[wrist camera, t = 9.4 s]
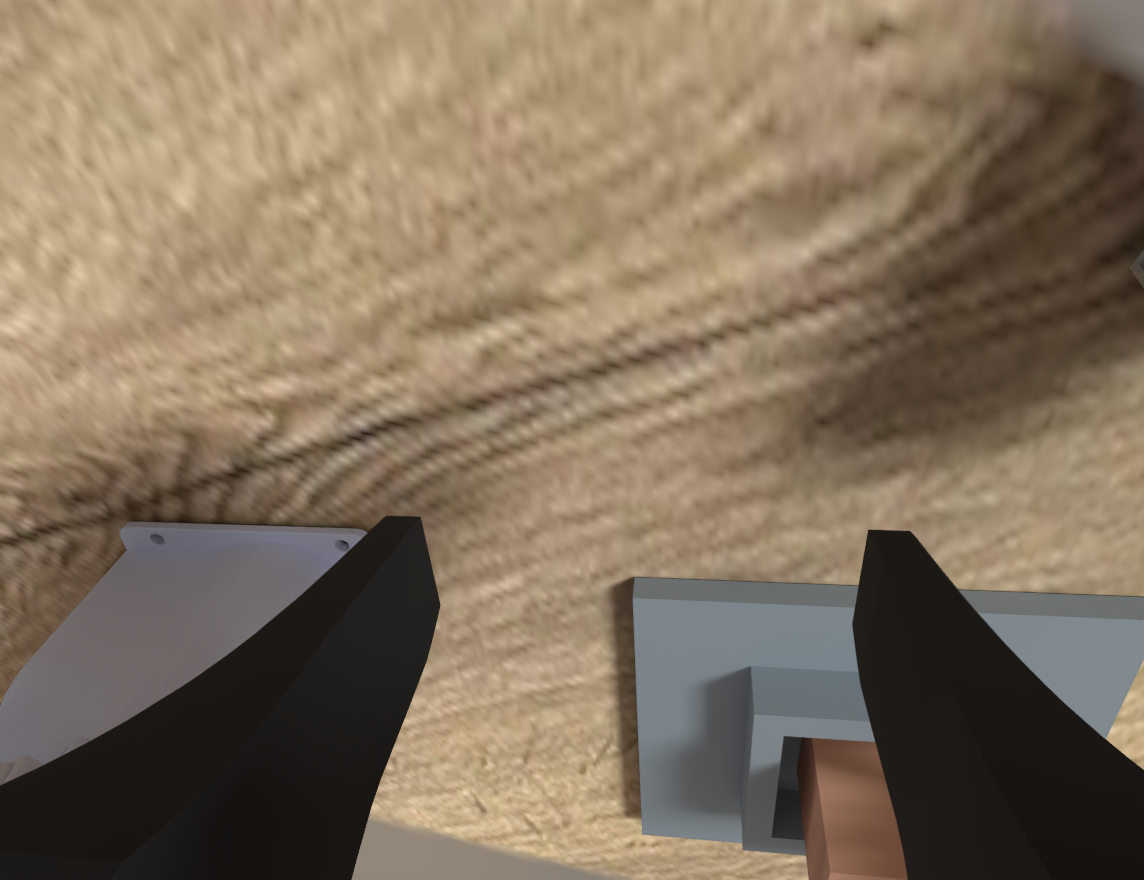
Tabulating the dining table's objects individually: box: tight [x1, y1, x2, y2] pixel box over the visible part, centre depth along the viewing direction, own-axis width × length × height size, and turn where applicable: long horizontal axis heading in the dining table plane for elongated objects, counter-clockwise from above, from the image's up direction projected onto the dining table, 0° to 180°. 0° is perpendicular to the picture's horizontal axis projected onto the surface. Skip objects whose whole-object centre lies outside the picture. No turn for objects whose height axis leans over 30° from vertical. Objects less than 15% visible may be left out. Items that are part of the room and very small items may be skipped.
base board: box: [633, 577, 1144, 856], centre depth 29 cm, size 16×14×3 cm
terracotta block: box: [797, 737, 908, 880], centre depth 26 cm, size 4×4×6 cm
